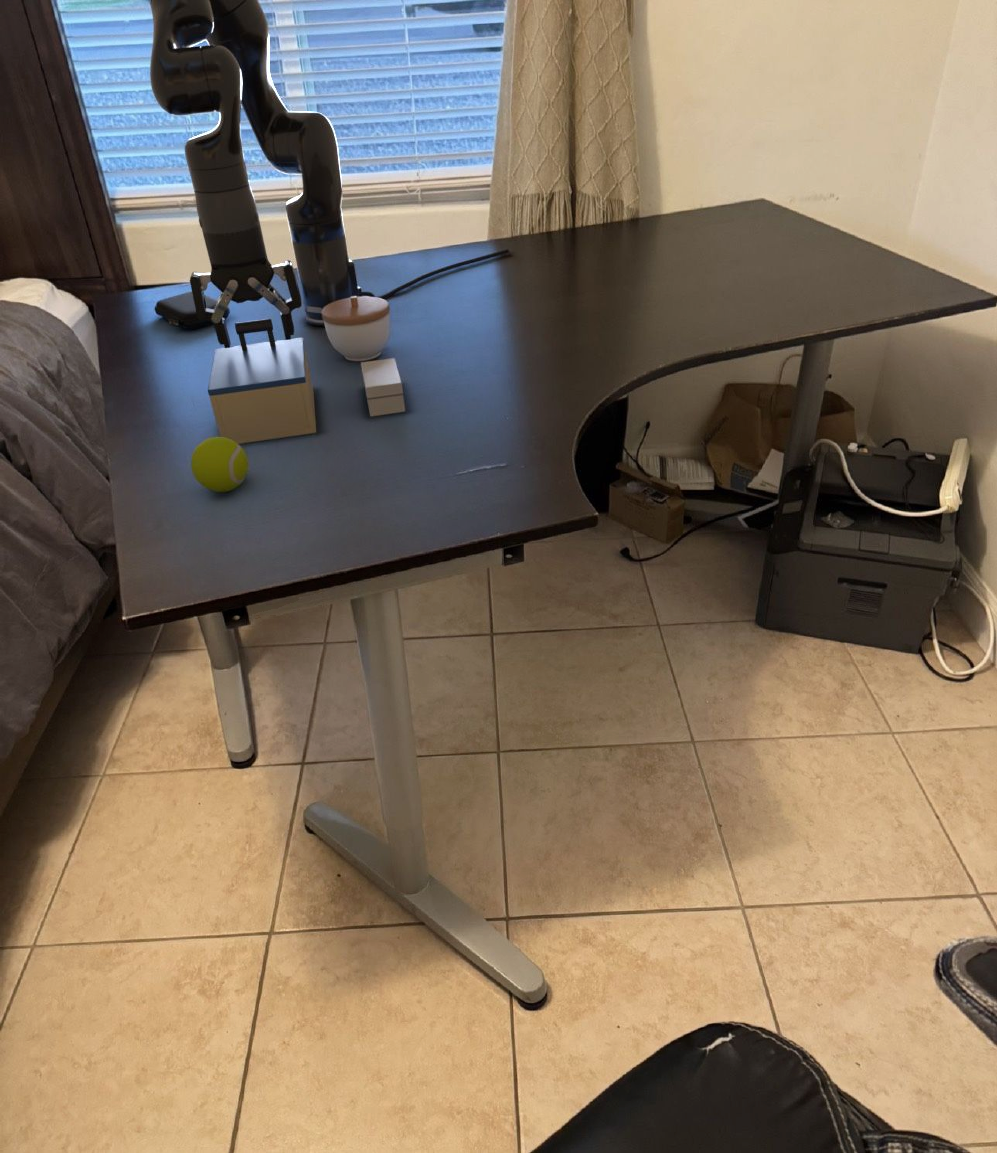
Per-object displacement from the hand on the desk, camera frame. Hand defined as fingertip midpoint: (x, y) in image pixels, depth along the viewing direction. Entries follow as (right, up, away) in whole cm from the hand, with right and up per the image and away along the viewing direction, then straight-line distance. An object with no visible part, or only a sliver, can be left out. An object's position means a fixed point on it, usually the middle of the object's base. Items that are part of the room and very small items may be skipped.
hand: (258, 342), depth 124 cm
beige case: (+18, -8, +2) cm, 20 cm away
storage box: (+2, -11, 0) cm, 11 cm away
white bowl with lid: (+12, +3, +18) cm, 22 cm away
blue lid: (+1, -4, -4) cm, 6 cm away
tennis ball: (0, -23, -16) cm, 28 cm away
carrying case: (-23, +15, +38) cm, 47 cm away
